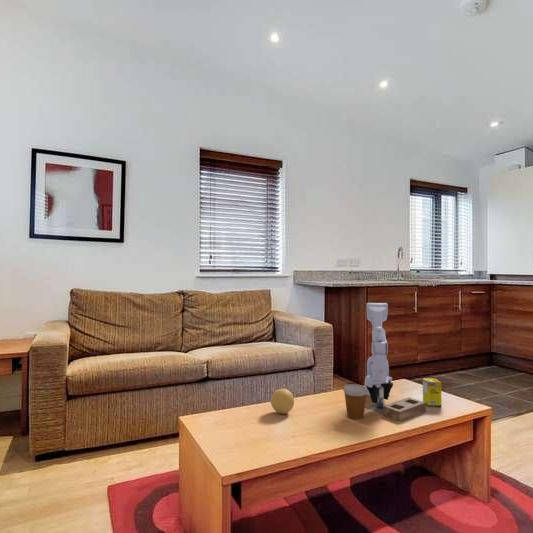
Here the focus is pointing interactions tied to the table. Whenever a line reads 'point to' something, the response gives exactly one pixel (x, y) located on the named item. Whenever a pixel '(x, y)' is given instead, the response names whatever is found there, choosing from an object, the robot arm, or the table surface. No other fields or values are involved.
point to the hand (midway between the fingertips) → (380, 400)
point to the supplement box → (432, 392)
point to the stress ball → (282, 401)
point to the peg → (380, 397)
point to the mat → (375, 408)
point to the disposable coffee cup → (355, 400)
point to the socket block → (404, 409)
